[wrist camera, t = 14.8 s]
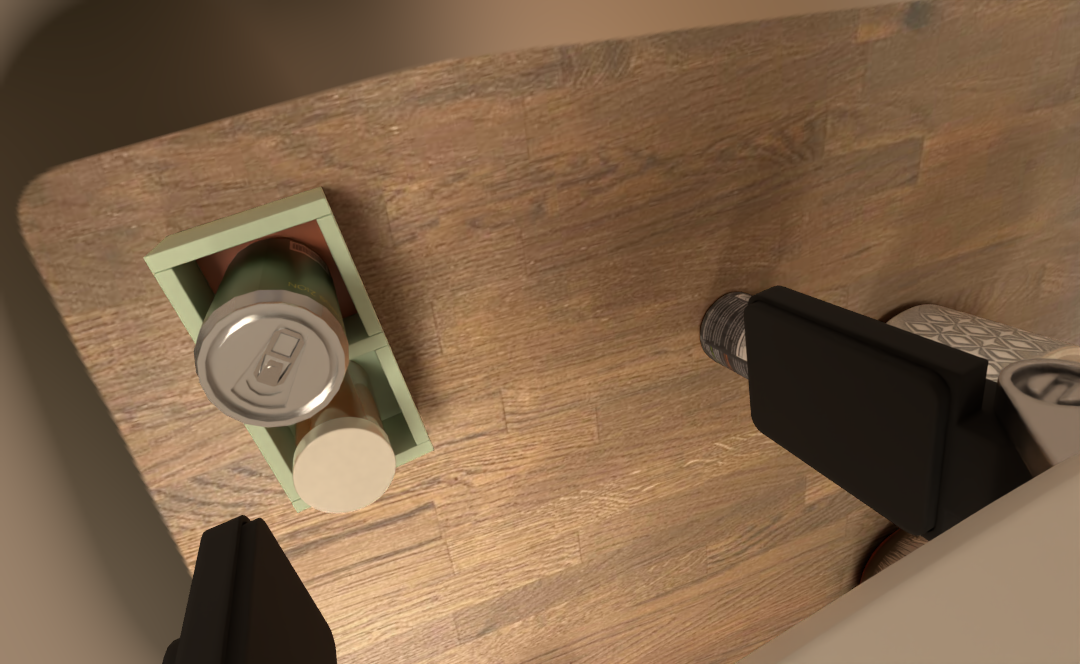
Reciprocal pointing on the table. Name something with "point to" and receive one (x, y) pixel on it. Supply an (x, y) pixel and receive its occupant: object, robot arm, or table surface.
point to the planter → (982, 337)
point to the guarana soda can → (273, 336)
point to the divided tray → (206, 251)
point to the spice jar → (344, 449)
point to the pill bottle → (726, 332)
